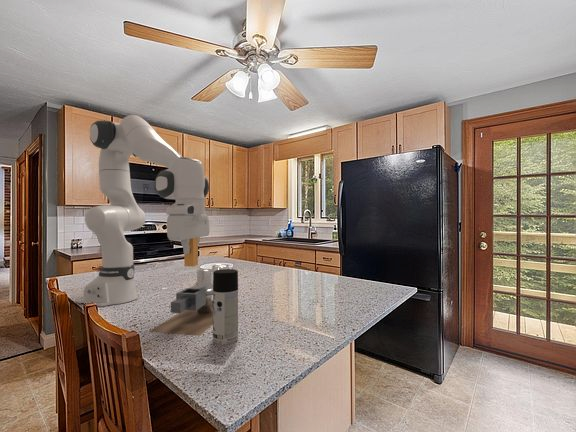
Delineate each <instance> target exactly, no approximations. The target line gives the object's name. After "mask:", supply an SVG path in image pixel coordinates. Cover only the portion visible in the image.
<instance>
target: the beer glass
mask: <svg viewBox="0 0 576 432" xmlns="http://www.w3.org/2000/svg"><path fill="white" fill-rule="evenodd" d="M220 269H222V270H223V269H230V265H229V264H225V263H223V264H213V265H212V266H211V285H213V272H214V271H216V270H220Z"/></svg>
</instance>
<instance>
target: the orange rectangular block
mask: <svg viewBox="0 0 576 432" xmlns="http://www.w3.org/2000/svg"><path fill="white" fill-rule="evenodd" d="M189 246H190V248H191V253H189V254H184V253H183V255H184V256H183V257H184V264H183V265H184V267H196V266H199V245H198V237H197V238H192V239H190V242H189Z"/></svg>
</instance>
